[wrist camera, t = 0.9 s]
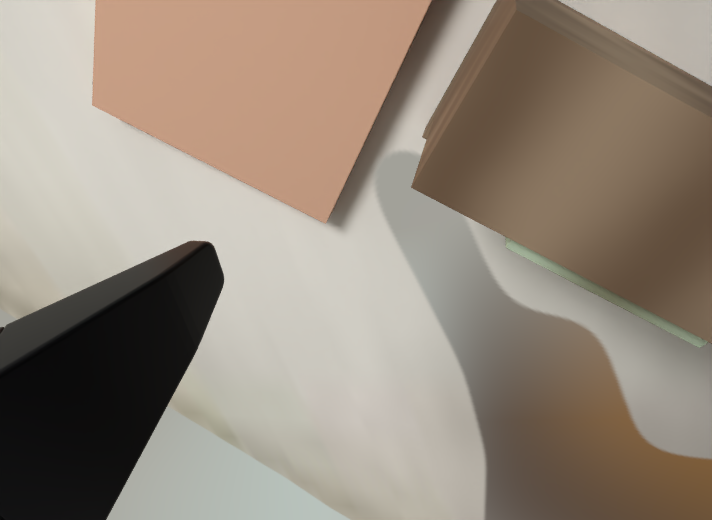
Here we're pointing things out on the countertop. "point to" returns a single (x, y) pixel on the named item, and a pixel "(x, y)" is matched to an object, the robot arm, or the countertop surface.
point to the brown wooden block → (582, 160)
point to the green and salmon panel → (256, 83)
